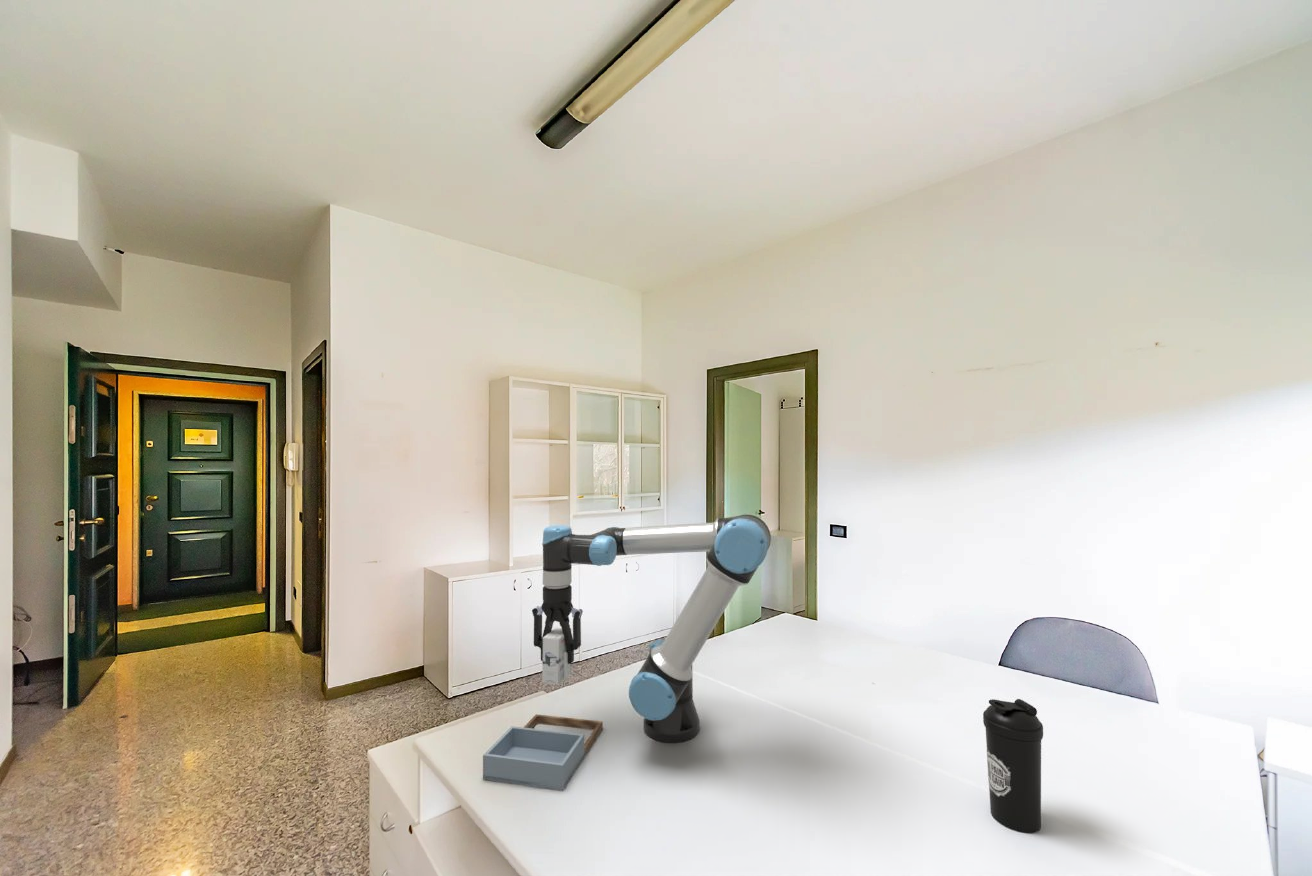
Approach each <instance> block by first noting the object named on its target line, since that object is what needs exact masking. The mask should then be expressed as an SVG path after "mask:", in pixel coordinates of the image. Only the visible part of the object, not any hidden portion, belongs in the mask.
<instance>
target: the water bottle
mask: <svg viewBox="0 0 1312 876" xmlns="http://www.w3.org/2000/svg"><path fill="white" fill-rule="evenodd" d="M988 704H990V705H988V706H987V708H986V709H985V710H984V711H983V714H982V717H983V718H982V722H983V726H984V728H985V740H986V742H985V743H986V758H987V777H988V786H989V787H988V789H989V790H988V791H989V805H990V806H989V807H990V808H989V809H990V814H991V816H992V818H993V819H994V820H995V821H996V822H997V823H999V824H1000V825H1002V826H1004V828H1007V829H1010V830H1013V831H1015V832H1018V833H1024V834H1034V833H1035V834H1036V833H1038V832H1039V831H1041V829H1042V740H1043V738H1044V725H1043V724H1042V722H1041V720H1040V719H1039V718H1038V716H1037V714H1038V710H1037V708H1036V707H1034V706H1033V705H1032V704H1030V703H1028V702H1027V701H1024V700H1023V699H1021V698H1017V699H1015V701H1014V702H1012V701H1005V700H1000V699H995V698H994V699H993V698H992V699H989V700H988Z"/></svg>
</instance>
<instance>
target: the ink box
mask: <svg viewBox="0 0 1312 876" xmlns="http://www.w3.org/2000/svg"><path fill="white" fill-rule="evenodd" d="M570 629H571V630H572V628H571V627H570ZM566 650H567V649H566V645H565V640H564V634H563V632H562V628H561V627H554V628H552V631H551V632H549V633H548V634H547V635H546V636H544V637H543V661H542V669H541V670H542V673H541V674H542V676H541V679H542V680H541V682H542V684H543V683H544V684H551V685H560V684H561V683H562V682H563V680H565V678H564V652H565V651H566Z"/></svg>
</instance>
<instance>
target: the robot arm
mask: <svg viewBox="0 0 1312 876" xmlns="http://www.w3.org/2000/svg"><path fill="white" fill-rule="evenodd" d="M571 527H572V526H569V525H550V526H546V527H545V528H544V529H543V532H542V543H541V544H542V545H541V546H542V585H543V587H542V604H541V606H535V607H534V608H532V610H531V612H532V616H533V646H534V647H538V648H539V649H540V662H543V637H544V636H546V635H547V634H548V633H549V632H551V631H552V630H553V627H554V622H557V623H559V626H560V628H562V632H563V634H564V640H565V645H566V649H567V650H566V651H565V652H564V679H566V678H568V677H569V676H570V675H571V674H572V673H571V672H572V664H573V663H574V660H575V656H574V655H575V651H577V650H578V649H579V648H580V647H581V646H582V631H581V630H582V627H581V626H582V619H581V618H582V615H583V609H582V608H581V609H580V608H579V609H578V608H575V607H574V606H573V603H572V595H573V593H572V588H573V587H572V585H571V584H572V564H575V565H589V566H590V565H591V566H598V567H600V566H610V565H612V564H613V563H614V561H615V559H616V557H617V556H629V555H631V556H632V555H633V556H635V555H654V554H655V555H656V554H676V553H677V554H679V553H681V554H682V553H702V552H705V553H706V552H708V553H707V555H706V556H705V558H706V559H705V560H706V563H707V567H706V569H705V571H704V573H703V574H702V576H701V578H700V579H699V581H698V583H697V585H696V586H695V589H694V590H693V592H692V593H691V595H690V597H689V598H688V600H687V602H686V603H685V605H684V607H683V608H682V610H681V612H680V614H679V615H678V617H677V619H676V620H675V622H674V624H673V625H672V627H671V628H670V630H669V632H668V634H667V635H666V637H665V639H657V640H654V641H652V642H651V643H650V644H649V650H648V652H649V654H648V656H647V658H646V659H645V661H644V662H643V664H642V666H641V667H640V669H639V670H638V672H637V673H636V674H635V675H634V676H633V677H632V679H631V682H630V685H629V686H628V687H629V688H628V697H629V698H628V699H629V700H630V705H631V706H632V708H633V709H634V711H635V712H636V713H637V714H639V715H640V716H641V717H642V718H643V731H644V733H645V734H646V736H648V737H649V738H651V739H653V740H656V741H659V742H664V743H681V742H686V741H688V740H690V739H692V738H694V737H696V736H697V735H698V734H699V732H700V727H701V726H700V717H699V714H698V712H697V708H696V705H695V702H694V695H693V694H694V692H693V691H694V689H693V688H694V687H693V681H694V680H693V665H694V664H693V663H694V662H695V660H696V658H697V657H698V656H699V654H700V652H701V651H702V649H703V647H704V645H705V644H706V642H707V640H708V639H709V637H710V635H711V634H712V632H713V631H714V628H715V627H716V625H717V624H718V622H719V621H720V618H721V617H722V615H723V614H724V612H725V610H726V609H727V607H728V605H729V603H730V601H731V600H732V598H733V597H734V595H735V593H736V592H737V590H738V588H739V587H740V586H746V585H748V584H749V583H750V582H751V580H752V578H753V576H754V575H755V573H756V571H757V570H758V568H759V567H760V566H761V565H762V564H763V562H764V560H765V559H766V557H767V554H768V550H769V548H770V546H771V540H772V539H771V537H772V535H771V531H770V529H769V527H768V525H767V524H766V522H765V521H764V520H763V519H761V518H760V517H758V516H756V515H754V514H746V513H745V514H741V515H736V516H731V517H721V518H718V517H717V518H716V520H715V521H714V522H702V523H701V522H700V523H685V524H684V523H683V524H666V525H650V526H649V525H647V526H633V527H618V526H612V527H607V528H605V529H603V530H601V531H598V532H595V533H593V534H575V533H573V531H572V528H571ZM543 614H544V615H545V622H544V628H543ZM570 614H571V617H572V628H571V625H570V618H569V616H570ZM570 628H571V629H570Z"/></svg>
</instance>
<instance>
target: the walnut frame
mask: <svg viewBox="0 0 1312 876" xmlns="http://www.w3.org/2000/svg"><path fill="white" fill-rule="evenodd" d="M537 724H539V725H540V724H541V725H550V726H560V727H569V728H576V729H577V728H578V729H584V730H585V729H587V730H593V731H592V732H591V734H590V735H589V736H588V738H587V740H586V741H585V742H584V744H585V757H586V756H587V754H588V753H589V751H590V750H591V748H592V746H593V745H594V743H595V742H596V740H597V739H598V737H599V736H600V734H601V732H603V729H604V727H603V726H604V723H603V721H601V720H595V719H593V720H592V719H583V718H574V717H565V716H555V715H546V714H538V713H537V714H536V713H535V714H534V716H533V717H532V718H531V719H529V721H528V722H527V723H526V724H525V725H524V726H523V728H532V729H534V727H536V726H537Z"/></svg>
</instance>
